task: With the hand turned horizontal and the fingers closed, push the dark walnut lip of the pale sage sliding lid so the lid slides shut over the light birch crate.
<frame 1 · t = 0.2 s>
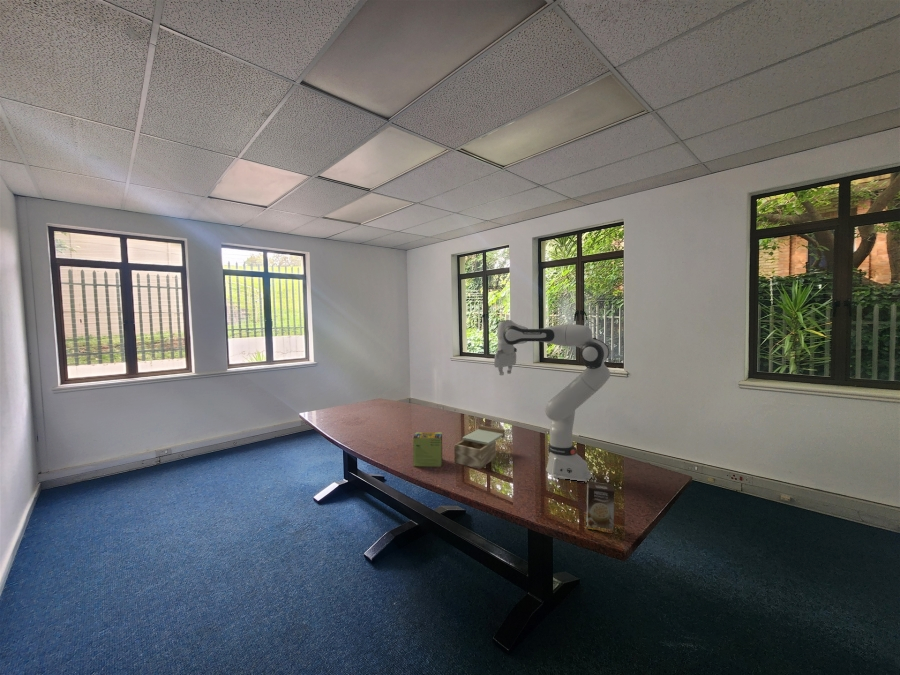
hand: (505, 374, 199), 48 cm above the table, tool pointing down, fingers open, 8 cm apart
protein box: (428, 463, 196), on the table
lid: (483, 435, 207), point 11 cm above the table, slide at 9.0 cm
coffee box: (599, 528, 134), on the table
crate: (475, 460, 199), on the table
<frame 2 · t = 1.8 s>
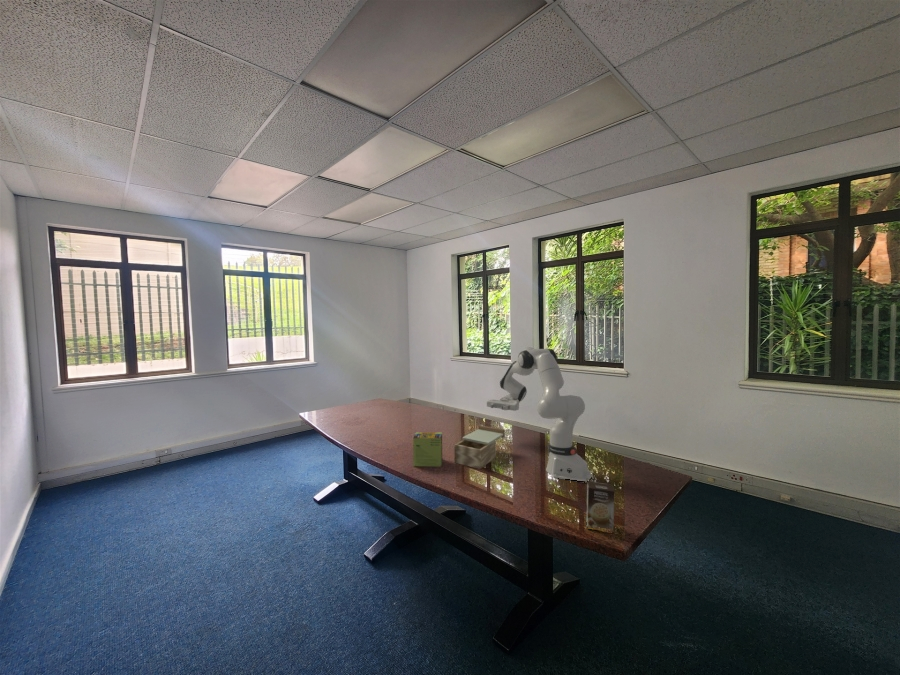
hand: (497, 407, 221), 24 cm above the table, tool horizontal, fingers open, 6 cm apart
nothing on the table moved.
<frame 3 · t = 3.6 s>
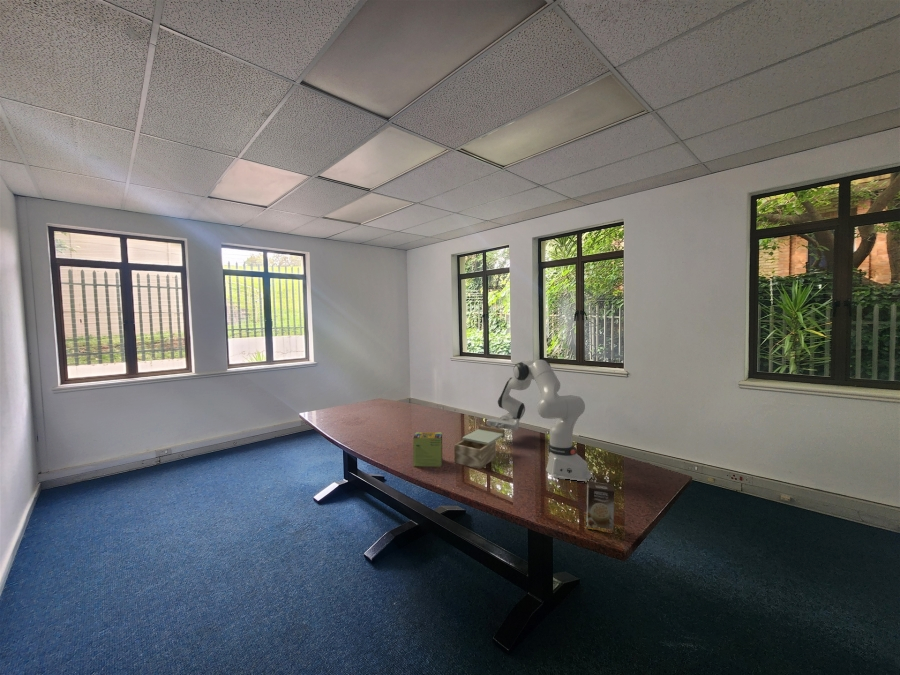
hand: (496, 427, 221), 12 cm above the table, tool horizontal, fingers closed
nothing on the table moved.
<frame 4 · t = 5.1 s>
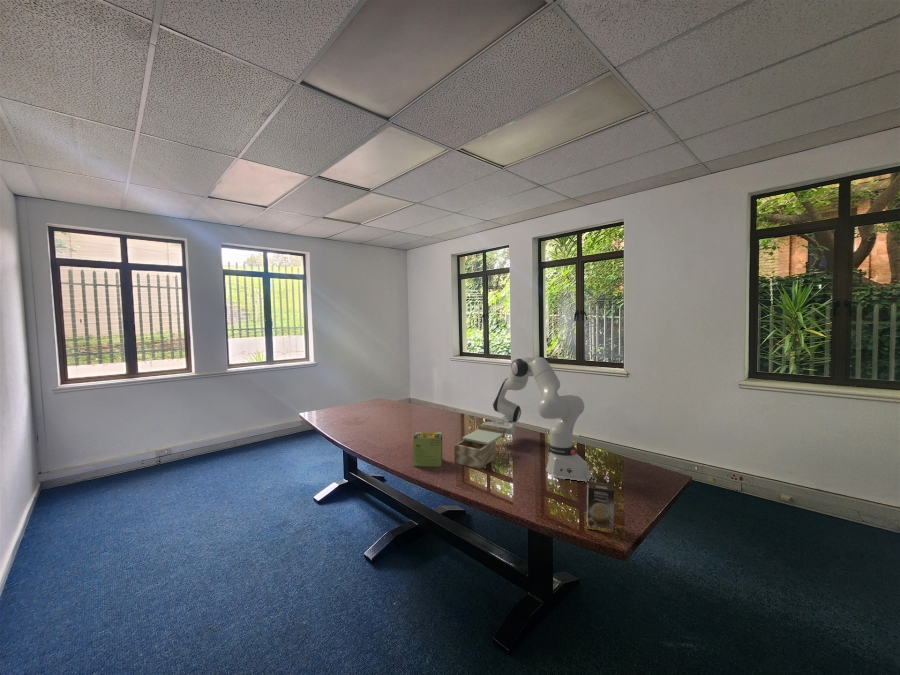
hand: (492, 430, 216), 11 cm above the table, tool horizontal, fingers closed, pressing on lid
lid: (483, 435, 207), point 11 cm above the table, slide at 9.0 cm, touching gripper
everything else where it was.
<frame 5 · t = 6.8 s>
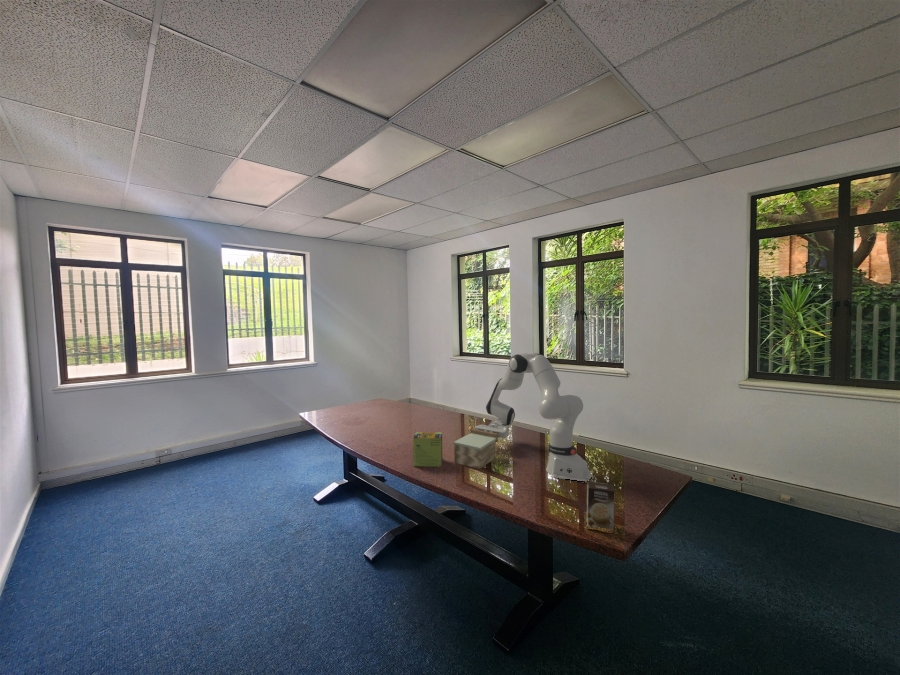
hand: (485, 434, 208), 11 cm above the table, tool horizontal, fingers closed, pressing on lid
lid: (476, 439, 199), point 11 cm above the table, slide at -0.1 cm, touching gripper
everything else where it was.
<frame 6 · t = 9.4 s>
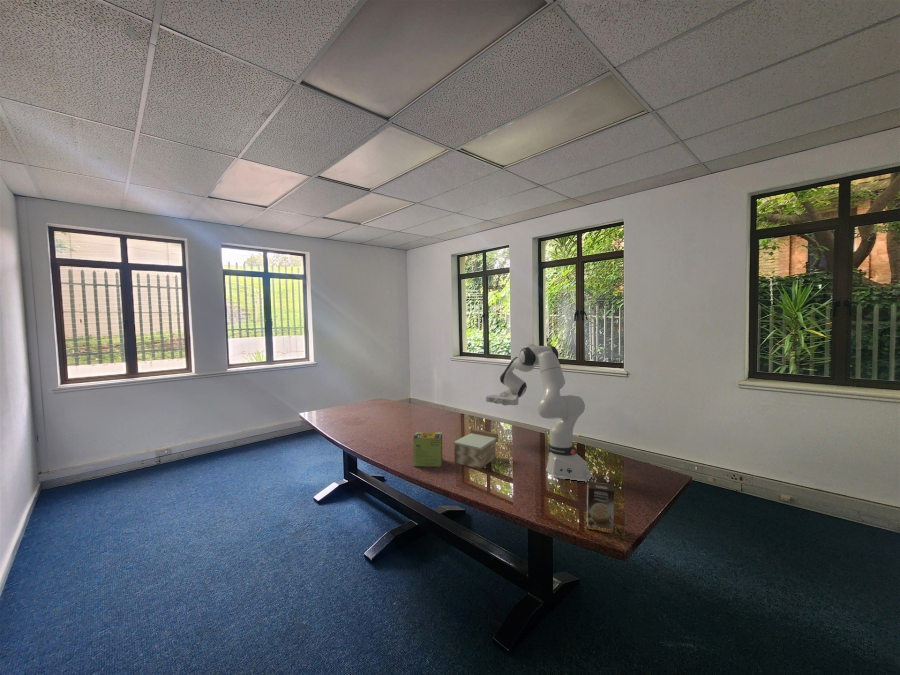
hand: (496, 402, 220), 28 cm above the table, tool horizontal, fingers closed
lid: (476, 439, 199), point 11 cm above the table, slide at 0.0 cm
everything else where it was.
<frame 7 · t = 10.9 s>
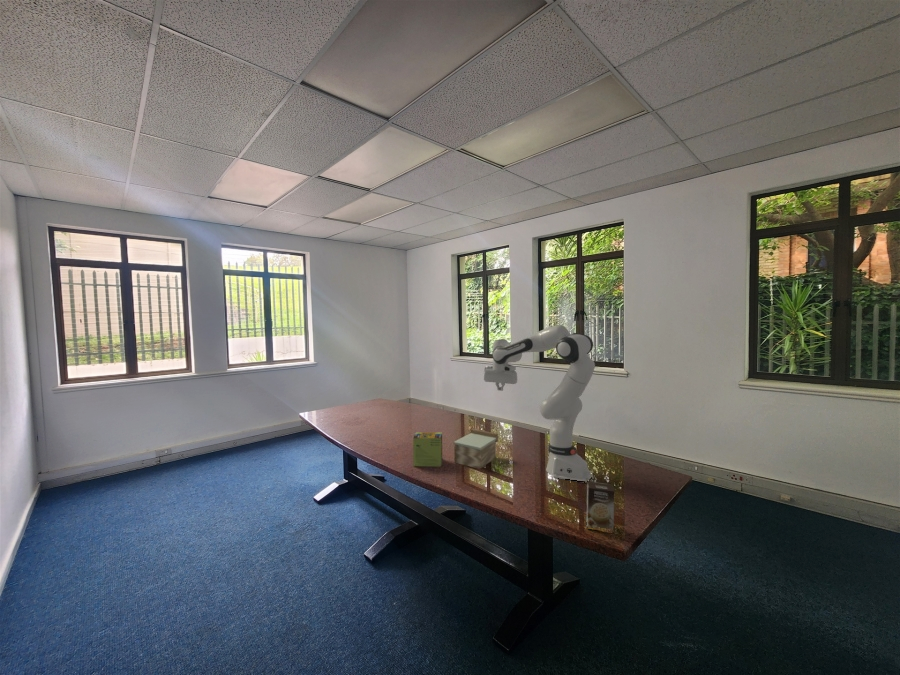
hand: (500, 390, 210), 37 cm above the table, tool pointing down, fingers closed
nothing on the table moved.
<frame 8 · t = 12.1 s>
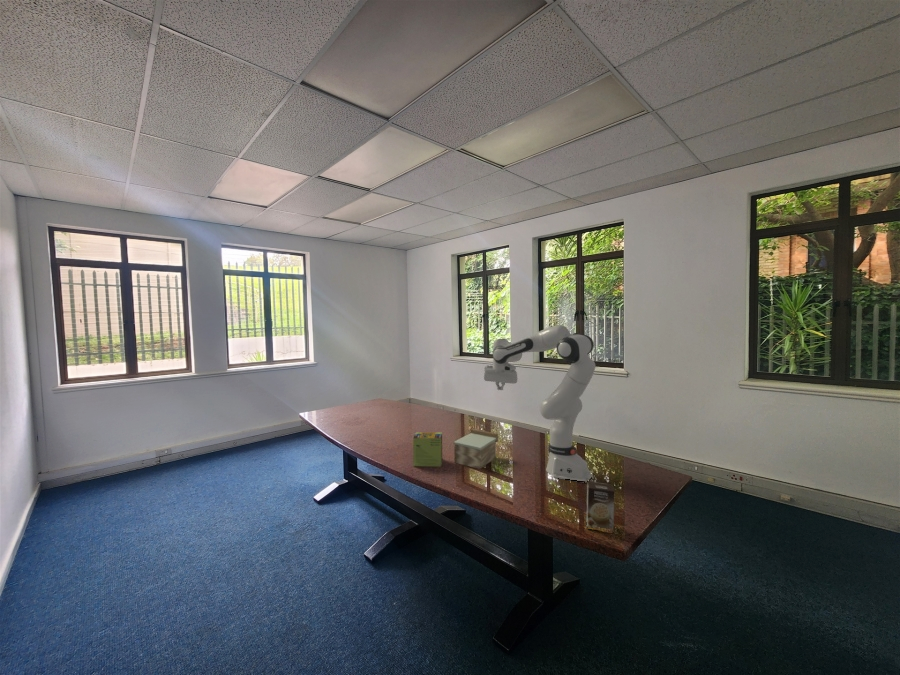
hand: (500, 389, 210), 37 cm above the table, tool pointing down, fingers closed
nothing on the table moved.
at the end: lid slide at 0.0 cm; protein box moved 0.3 cm from its start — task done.
